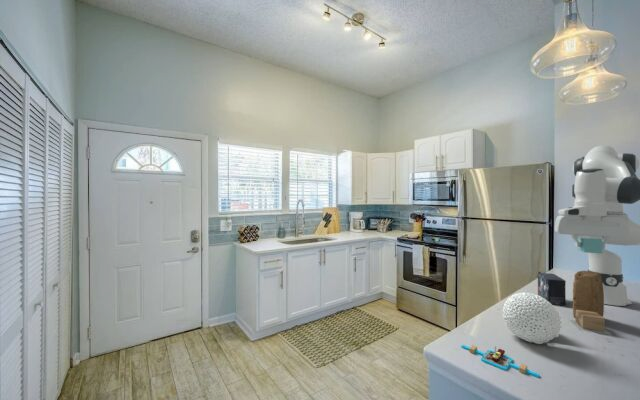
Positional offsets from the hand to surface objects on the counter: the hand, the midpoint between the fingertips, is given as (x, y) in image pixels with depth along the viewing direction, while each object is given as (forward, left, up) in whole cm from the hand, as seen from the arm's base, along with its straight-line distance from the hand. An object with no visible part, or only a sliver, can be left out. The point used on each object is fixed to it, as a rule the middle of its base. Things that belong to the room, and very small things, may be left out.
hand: (589, 247), depth 101 cm
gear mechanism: (+38, -35, -32) cm, 61 cm away
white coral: (+16, -23, -32) cm, 42 cm away
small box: (-33, -2, -32) cm, 46 cm away
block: (-10, +4, -31) cm, 33 cm away
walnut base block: (0, 0, -30) cm, 30 cm away
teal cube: (0, 0, -2) cm, 2 cm away
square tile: (0, 0, -31) cm, 31 cm away
